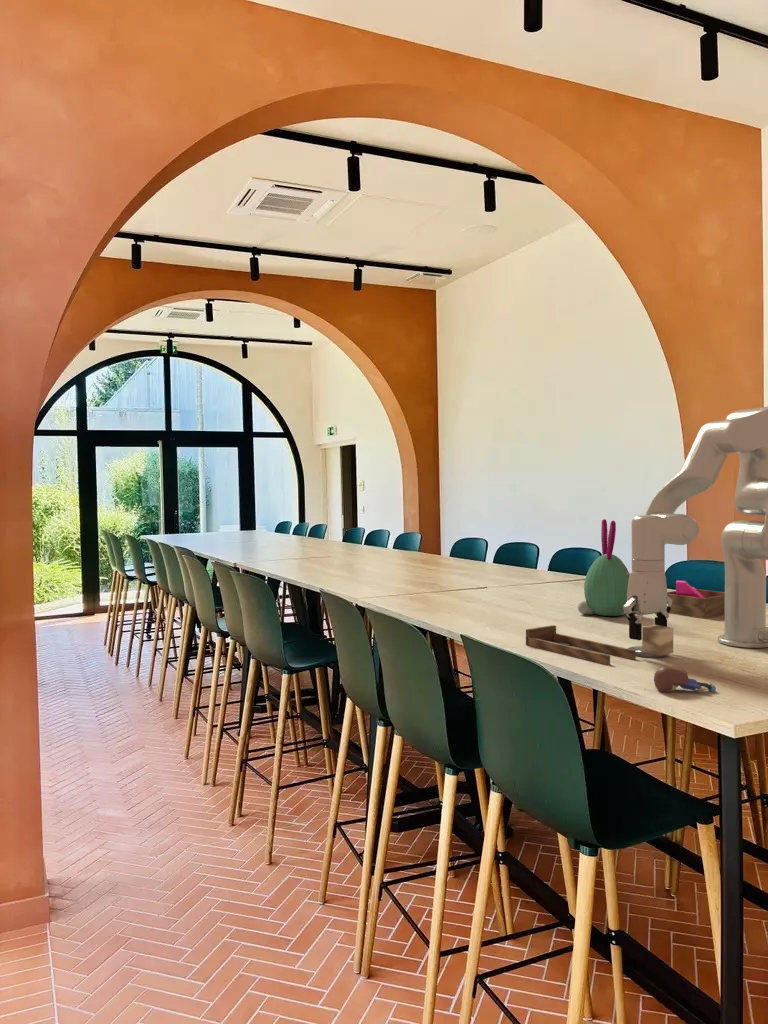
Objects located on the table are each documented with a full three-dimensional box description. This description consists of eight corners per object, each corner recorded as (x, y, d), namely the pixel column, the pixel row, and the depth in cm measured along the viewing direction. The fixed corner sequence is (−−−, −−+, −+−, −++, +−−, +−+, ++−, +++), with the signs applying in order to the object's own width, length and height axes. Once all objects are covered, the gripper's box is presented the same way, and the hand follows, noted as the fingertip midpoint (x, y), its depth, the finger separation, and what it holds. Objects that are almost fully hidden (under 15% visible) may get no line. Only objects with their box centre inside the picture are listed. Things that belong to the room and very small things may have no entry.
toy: (639, 619, 226) (639, 521, 225) (583, 618, 226) (583, 521, 226) (625, 610, 241) (625, 518, 240) (573, 610, 241) (573, 519, 240)
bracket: (675, 614, 236) (676, 582, 236) (677, 609, 245) (677, 578, 245) (717, 616, 231) (717, 584, 231) (716, 611, 240) (717, 580, 240)
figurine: (706, 696, 149) (648, 687, 149) (710, 671, 149) (652, 662, 149) (717, 704, 144) (657, 694, 144) (722, 678, 144) (661, 669, 144)
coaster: (674, 654, 178) (675, 651, 178) (651, 659, 173) (651, 656, 173) (643, 647, 185) (643, 644, 185) (619, 652, 180) (619, 649, 180)
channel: (635, 658, 174) (635, 641, 174) (607, 664, 168) (607, 647, 168) (553, 640, 195) (553, 625, 195) (525, 644, 190) (525, 629, 190)
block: (673, 652, 176) (673, 627, 176) (660, 655, 173) (660, 630, 173) (655, 649, 180) (655, 624, 180) (642, 651, 178) (642, 626, 177)
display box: (736, 612, 236) (736, 594, 236) (703, 618, 226) (704, 598, 226) (692, 606, 249) (692, 588, 248) (660, 611, 239) (660, 592, 239)
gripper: (657, 562, 186) (657, 630, 187) (611, 567, 177) (612, 638, 178) (683, 565, 180) (683, 634, 181) (638, 570, 171) (638, 644, 171)
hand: (648, 636), depth 179 cm, fingers open, 9 cm apart
